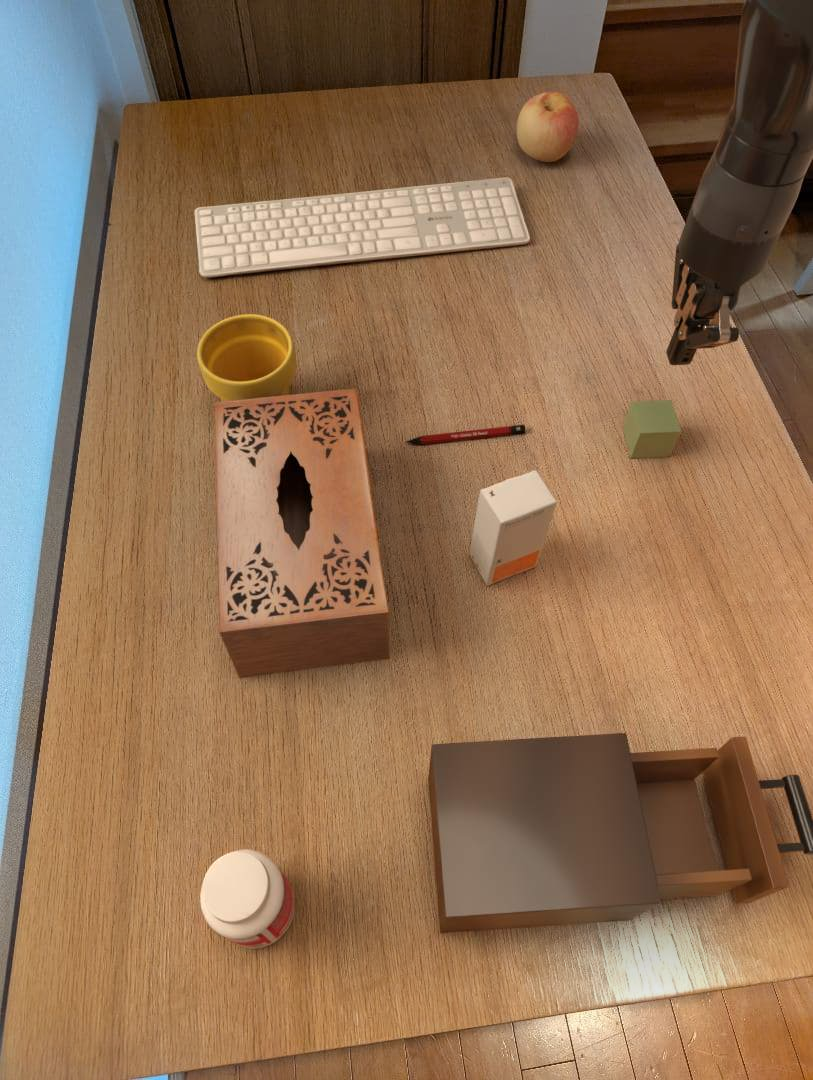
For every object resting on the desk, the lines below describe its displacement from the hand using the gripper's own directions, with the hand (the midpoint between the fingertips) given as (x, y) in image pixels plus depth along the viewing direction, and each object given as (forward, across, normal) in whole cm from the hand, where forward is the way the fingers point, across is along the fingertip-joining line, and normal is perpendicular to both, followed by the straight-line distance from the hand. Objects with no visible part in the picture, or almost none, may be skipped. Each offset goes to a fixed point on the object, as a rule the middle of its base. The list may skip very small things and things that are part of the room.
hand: (677, 359), depth 82 cm
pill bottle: (+13, -46, +42) cm, 64 cm away
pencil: (+14, +2, +20) cm, 24 cm away
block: (+13, 0, 0) cm, 13 cm away
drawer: (+12, -43, +7) cm, 45 cm away
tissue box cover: (+14, -12, +38) cm, 43 cm away
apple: (+14, +54, +3) cm, 56 cm away
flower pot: (+14, +8, +44) cm, 46 cm away
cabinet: (+13, -43, +20) cm, 49 cm away
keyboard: (+14, +38, +30) cm, 51 cm away
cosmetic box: (+14, -15, +18) cm, 27 cm away
